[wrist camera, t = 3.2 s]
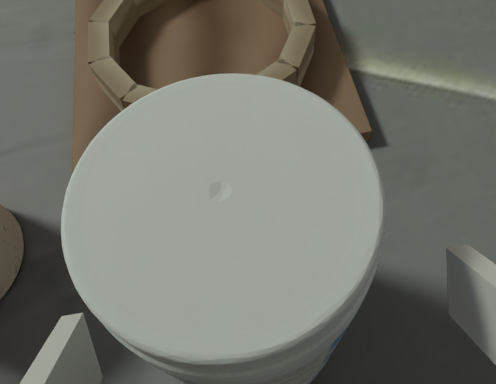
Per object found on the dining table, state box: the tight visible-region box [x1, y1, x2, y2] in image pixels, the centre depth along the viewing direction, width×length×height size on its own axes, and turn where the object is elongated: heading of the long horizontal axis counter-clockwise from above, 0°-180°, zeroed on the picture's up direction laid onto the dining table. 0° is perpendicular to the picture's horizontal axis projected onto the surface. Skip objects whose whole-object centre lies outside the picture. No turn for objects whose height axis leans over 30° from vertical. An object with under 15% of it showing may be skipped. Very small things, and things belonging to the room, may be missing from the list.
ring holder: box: [72, 0, 372, 174], centre depth 33 cm, size 20×20×4 cm
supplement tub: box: [61, 73, 386, 384], centre depth 19 cm, size 10×10×15 cm
